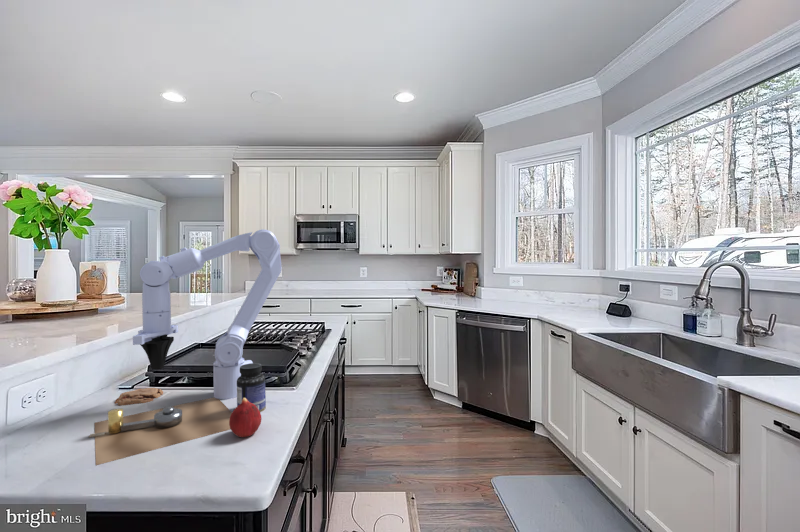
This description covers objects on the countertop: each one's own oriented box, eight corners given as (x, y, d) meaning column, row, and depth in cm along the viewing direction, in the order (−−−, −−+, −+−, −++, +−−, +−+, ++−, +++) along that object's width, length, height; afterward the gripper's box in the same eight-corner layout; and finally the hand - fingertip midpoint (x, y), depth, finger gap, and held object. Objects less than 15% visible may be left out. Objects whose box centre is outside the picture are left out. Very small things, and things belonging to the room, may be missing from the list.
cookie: (172, 395, 101) (172, 384, 101) (142, 411, 90) (142, 398, 90) (137, 395, 102) (137, 383, 102) (103, 410, 91) (103, 398, 91)
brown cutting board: (216, 400, 96) (216, 395, 96) (244, 430, 79) (244, 424, 79) (88, 428, 81) (88, 422, 81) (89, 473, 64) (88, 465, 64)
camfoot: (183, 416, 84) (183, 397, 83) (180, 425, 79) (180, 405, 79) (112, 427, 78) (111, 407, 78) (105, 437, 74) (104, 416, 74)
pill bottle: (270, 408, 91) (269, 362, 91) (259, 419, 85) (258, 369, 85) (244, 408, 91) (244, 362, 91) (231, 418, 85) (231, 369, 85)
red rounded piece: (267, 434, 77) (267, 394, 77) (247, 447, 72) (247, 405, 72) (244, 430, 79) (243, 391, 79) (222, 443, 74) (222, 401, 74)
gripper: (158, 308, 99) (158, 360, 99) (118, 316, 84) (119, 378, 84) (186, 307, 99) (186, 360, 99) (150, 315, 84) (151, 377, 85)
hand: (157, 368), depth 92 cm, fingers closed
